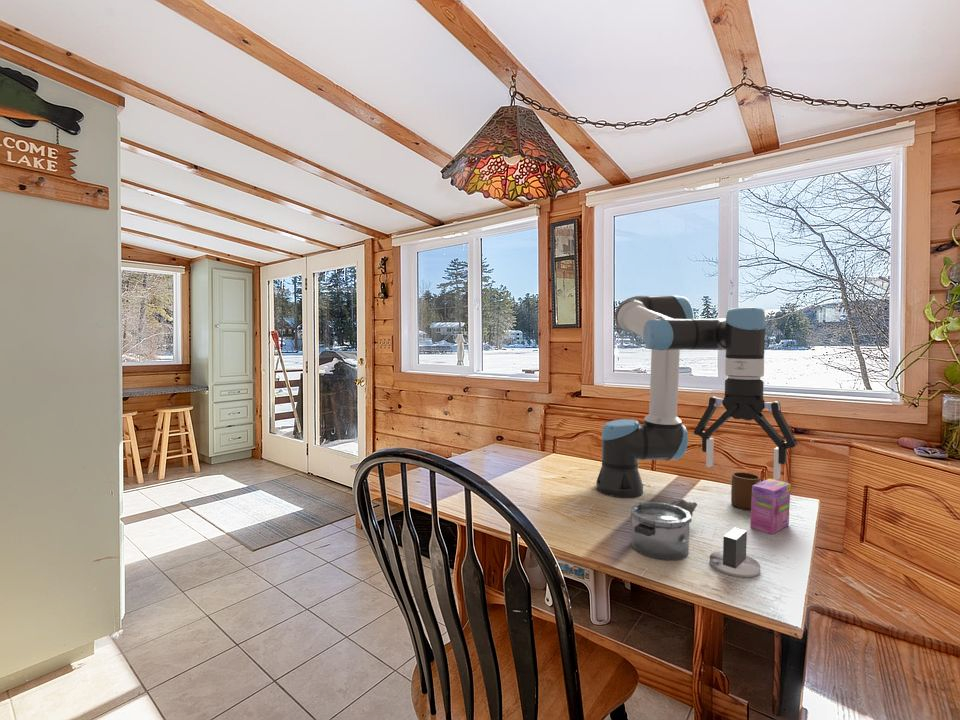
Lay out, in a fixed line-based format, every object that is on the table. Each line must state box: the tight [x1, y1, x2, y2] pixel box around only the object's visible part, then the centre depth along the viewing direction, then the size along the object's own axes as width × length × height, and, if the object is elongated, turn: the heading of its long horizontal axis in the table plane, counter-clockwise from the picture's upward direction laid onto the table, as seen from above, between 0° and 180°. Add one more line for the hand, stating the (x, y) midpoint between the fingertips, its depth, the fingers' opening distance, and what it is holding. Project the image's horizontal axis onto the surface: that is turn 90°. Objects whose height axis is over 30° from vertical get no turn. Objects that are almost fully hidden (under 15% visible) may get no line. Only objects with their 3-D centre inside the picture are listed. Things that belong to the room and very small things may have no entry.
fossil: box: [666, 498, 698, 518], centre depth 129 cm, size 11×9×8 cm
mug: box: [730, 471, 761, 511], centre depth 142 cm, size 12×8×9 cm, turn 10°
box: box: [749, 478, 792, 535], centre depth 128 cm, size 10×6×12 cm, turn 126°
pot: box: [630, 501, 693, 562], centre depth 115 cm, size 14×18×9 cm
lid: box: [709, 527, 761, 579], centre depth 106 cm, size 10×10×8 cm
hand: (741, 472), depth 106 cm, fingers open, 13 cm apart
